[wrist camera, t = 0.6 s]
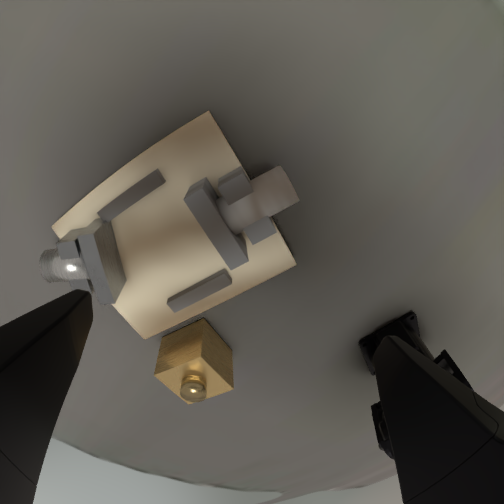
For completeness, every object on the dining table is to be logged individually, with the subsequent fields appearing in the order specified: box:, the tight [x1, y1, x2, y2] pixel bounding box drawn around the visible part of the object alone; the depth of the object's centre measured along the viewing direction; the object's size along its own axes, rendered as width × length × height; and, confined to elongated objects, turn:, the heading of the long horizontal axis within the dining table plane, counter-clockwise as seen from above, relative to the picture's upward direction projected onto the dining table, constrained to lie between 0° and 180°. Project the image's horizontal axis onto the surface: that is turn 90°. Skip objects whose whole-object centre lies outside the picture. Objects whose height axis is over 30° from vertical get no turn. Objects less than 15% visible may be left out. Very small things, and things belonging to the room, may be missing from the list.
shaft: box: [39, 218, 127, 304], centre depth 18 cm, size 6×5×3 cm
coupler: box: [154, 318, 234, 404], centre depth 23 cm, size 4×4×6 cm
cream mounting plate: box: [52, 111, 299, 339], centre depth 18 cm, size 12×16×4 cm
